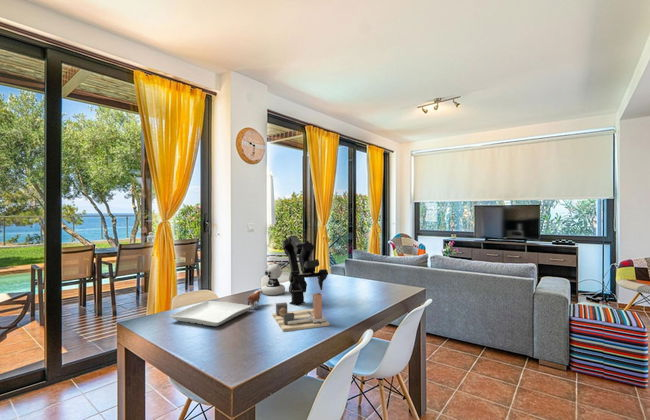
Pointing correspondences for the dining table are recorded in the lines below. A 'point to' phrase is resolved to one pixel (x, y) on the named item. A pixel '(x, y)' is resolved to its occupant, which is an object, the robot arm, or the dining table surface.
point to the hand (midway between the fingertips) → (312, 290)
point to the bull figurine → (254, 298)
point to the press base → (282, 309)
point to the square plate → (210, 313)
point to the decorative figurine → (273, 280)
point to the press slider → (315, 318)
